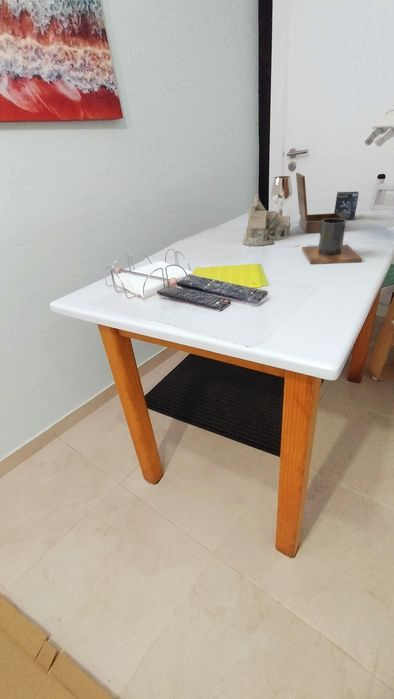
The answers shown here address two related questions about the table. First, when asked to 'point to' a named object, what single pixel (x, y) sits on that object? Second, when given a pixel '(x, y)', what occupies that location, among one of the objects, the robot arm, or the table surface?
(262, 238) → the ceramic cottage
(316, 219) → the bread box
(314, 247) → the board
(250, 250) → the table surface
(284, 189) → the wineglass
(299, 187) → the bread box lid
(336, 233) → the dark grey cup
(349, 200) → the box
